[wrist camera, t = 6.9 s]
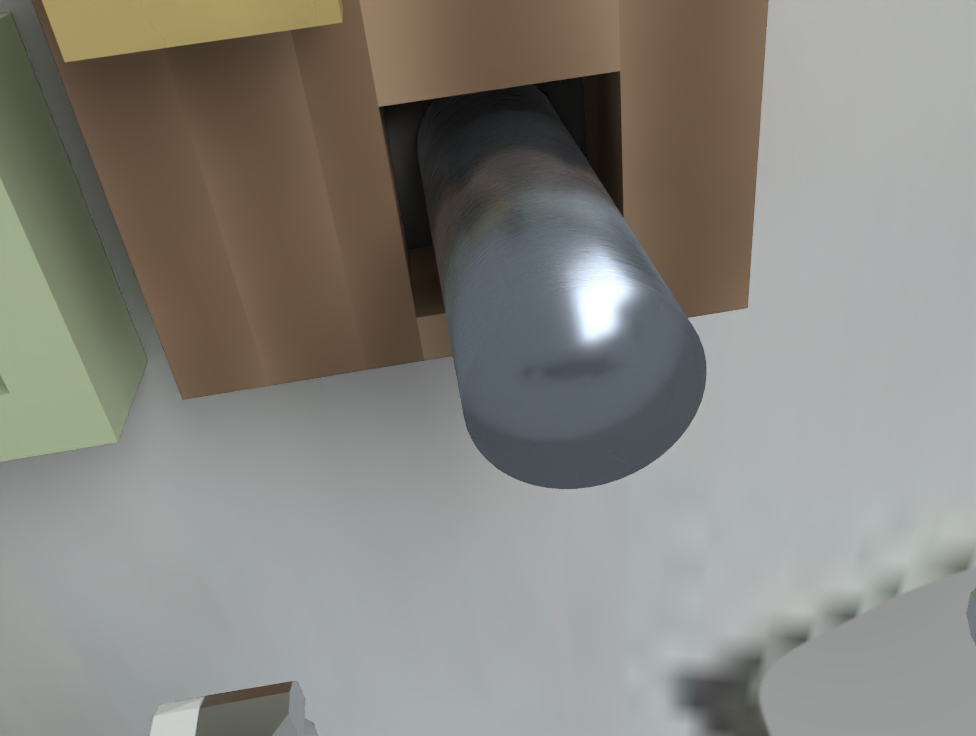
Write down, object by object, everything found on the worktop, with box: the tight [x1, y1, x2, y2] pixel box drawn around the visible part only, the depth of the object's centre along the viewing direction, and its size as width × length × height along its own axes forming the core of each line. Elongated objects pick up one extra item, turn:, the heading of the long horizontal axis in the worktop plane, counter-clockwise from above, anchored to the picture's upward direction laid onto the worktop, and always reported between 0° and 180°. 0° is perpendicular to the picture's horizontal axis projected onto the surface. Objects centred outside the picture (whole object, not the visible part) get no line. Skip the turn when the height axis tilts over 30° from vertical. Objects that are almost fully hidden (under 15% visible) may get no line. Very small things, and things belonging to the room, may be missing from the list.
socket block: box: [32, 0, 768, 399], centre depth 20 cm, size 15×15×4 cm
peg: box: [417, 84, 706, 489], centre depth 19 cm, size 4×4×12 cm
